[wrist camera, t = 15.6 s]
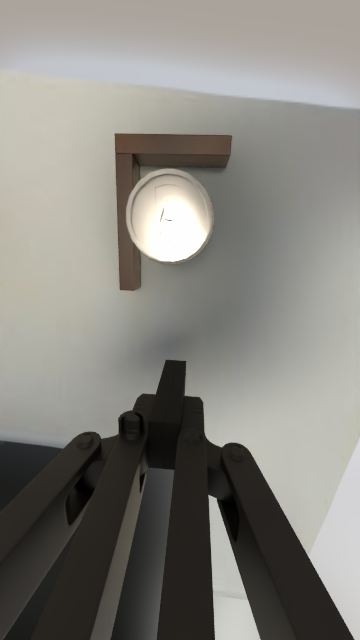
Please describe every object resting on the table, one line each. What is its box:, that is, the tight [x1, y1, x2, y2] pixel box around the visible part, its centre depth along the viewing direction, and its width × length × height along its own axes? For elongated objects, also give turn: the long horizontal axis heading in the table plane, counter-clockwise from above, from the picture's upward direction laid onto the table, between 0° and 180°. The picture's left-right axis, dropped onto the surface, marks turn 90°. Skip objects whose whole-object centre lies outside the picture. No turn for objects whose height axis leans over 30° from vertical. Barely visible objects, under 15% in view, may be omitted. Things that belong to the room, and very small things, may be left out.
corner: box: [115, 134, 232, 291], centre depth 23 cm, size 10×14×3 cm
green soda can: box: [126, 169, 214, 265], centre depth 19 cm, size 5×5×12 cm
